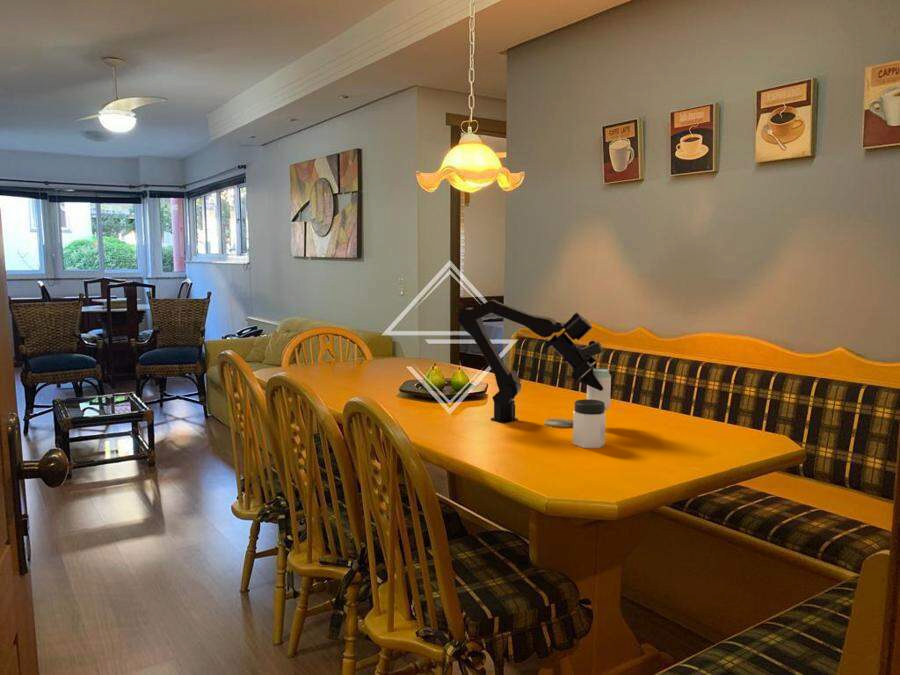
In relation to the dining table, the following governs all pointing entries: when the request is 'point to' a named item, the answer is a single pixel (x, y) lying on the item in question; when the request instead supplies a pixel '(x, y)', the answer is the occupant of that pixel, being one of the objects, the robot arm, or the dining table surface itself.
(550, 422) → the coaster
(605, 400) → the can
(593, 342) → the robot arm
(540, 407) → the dining table surface
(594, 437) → the jar
